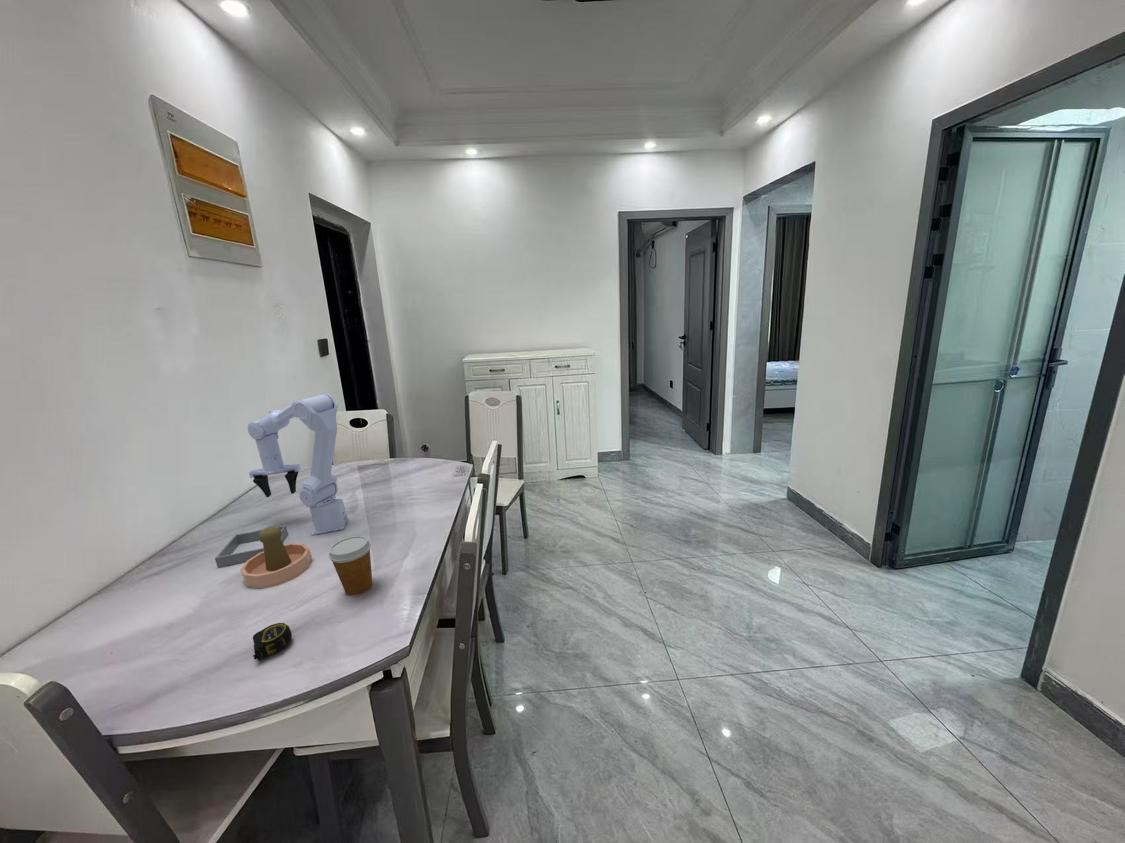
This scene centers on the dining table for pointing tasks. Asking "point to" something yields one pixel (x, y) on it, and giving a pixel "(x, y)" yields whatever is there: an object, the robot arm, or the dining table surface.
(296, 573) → the bowl
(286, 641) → the tape measure
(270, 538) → the cork
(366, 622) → the dining table surface
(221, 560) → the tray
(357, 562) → the disposable coffee cup
